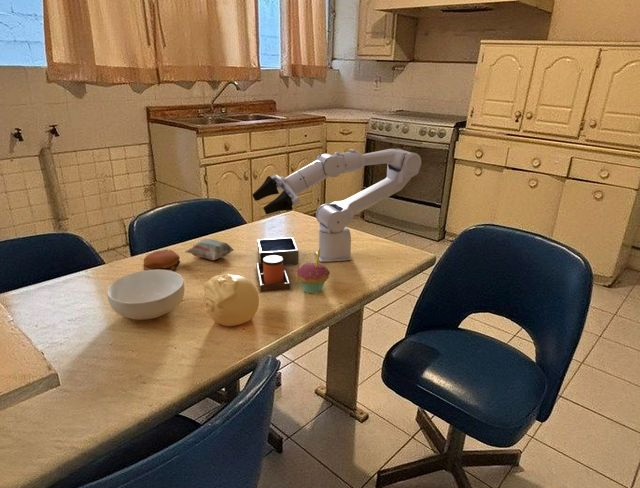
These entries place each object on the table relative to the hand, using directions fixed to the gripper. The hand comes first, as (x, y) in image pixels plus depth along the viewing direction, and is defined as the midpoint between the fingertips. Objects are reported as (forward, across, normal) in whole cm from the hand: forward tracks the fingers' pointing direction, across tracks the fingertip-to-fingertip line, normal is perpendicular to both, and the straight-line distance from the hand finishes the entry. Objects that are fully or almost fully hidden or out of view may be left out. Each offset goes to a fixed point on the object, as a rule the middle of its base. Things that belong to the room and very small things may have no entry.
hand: (259, 204), depth 123 cm
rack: (+7, +13, +15) cm, 21 cm away
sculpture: (+21, +27, +4) cm, 34 cm away
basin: (+2, +1, +20) cm, 21 cm away
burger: (+32, -8, +9) cm, 34 cm away
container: (+8, +16, +13) cm, 22 cm away
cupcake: (0, +23, +15) cm, 28 cm away
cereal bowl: (+36, +15, +1) cm, 39 cm away
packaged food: (+19, -10, +16) cm, 26 cm away
